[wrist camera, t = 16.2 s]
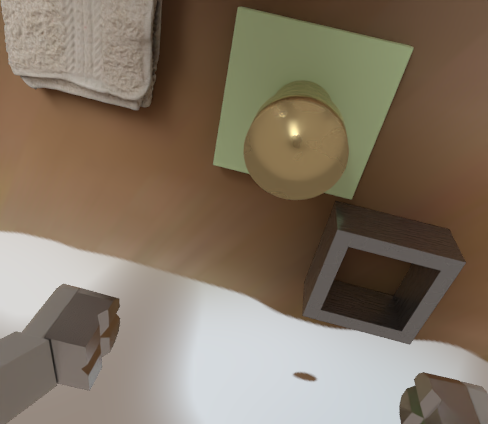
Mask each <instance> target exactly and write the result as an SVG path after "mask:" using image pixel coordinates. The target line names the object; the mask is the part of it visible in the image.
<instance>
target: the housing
mask: <svg viewBox="0 0 488 424" xmlns="http://www.w3.org/2000/svg"><path fill="white" fill-rule="evenodd" d="M348 247H351V248H355V249H359V250H363V251H367V252H370V253H374V254H378V255H382V256H386V257H390V258H394V259H398V260H402V261H405V262H409V263H412V265H411V266H410V268H409V270H408V272H407V273H406V275H405V277H404V278H403V280H402V282H401V284H400V285H399V287H398V289H397V290H396V292H395V294H394V296H393V295H389V294H385V293H381V292H377V291H374V290H370V289H366V288H362V287H358V286H355V285H351V284H347V283H343V282H339V281H335V280H334V278H335V276H336V274H337V271H338V269H339V267H340V265H341V262H342V260H343V258H344V256H345V253H346V251H347V249H348ZM465 263H466V261H465V259H464V258H463V256H462V254H461V252H460V250H459V248H458V246H457V244H456V242H455V240H454V238H453V236H452V234H451V232H450V230H449V229H445V228H441V227H437V226H434V225H430V224H426V223H422V222H418V221H414V220H410V219H406V218H402V217H398V216H394V215H390V214H386V213H382V212H378V211H374V210H370V209H366V208H362V207H358V206H354V205H350V204H346V203H342V202H338V201H335V204H334V206H333V209H332V211H331V214H330V217H329V219H328V222H327V224H326V227H325V230H324V232H323V235H322V237H321V240H320V243H319V245H318V248H317V251H316V253H315V256H314V258H313V261H312V264H311V266H310V269H309V271H308V274H307V277H306V279H305V282H304V296H303V315H302V316H305V317H309V318H313V319H316V320H320V321H324V322H328V323H331V324H335V325H339V326H343V327H346V328H350V329H354V330H358V331H361V332H365V333H369V334H373V335H376V336H380V337H384V338H388V339H391V340H395V341H399V342H403V343H406V344H411V342H412V341H413V339H414V338H415V336H416V335H417V333H418V332H419V330H420V329H421V328H422V326H423V325H424V323H425V322H426V320H427V319H428V317H429V316H430V314H431V313H432V312H433V310H434V309H435V307H436V306H437V304H438V303H439V301H440V300H441V298H442V297H443V295H444V294H445V293H446V291H447V290H448V288H449V287H450V285H451V284H452V282H453V281H454V279H455V278H456V277H457V275H458V274H459V272H460V271H461V269H462V268H463V266H464V265H465Z"/></svg>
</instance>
